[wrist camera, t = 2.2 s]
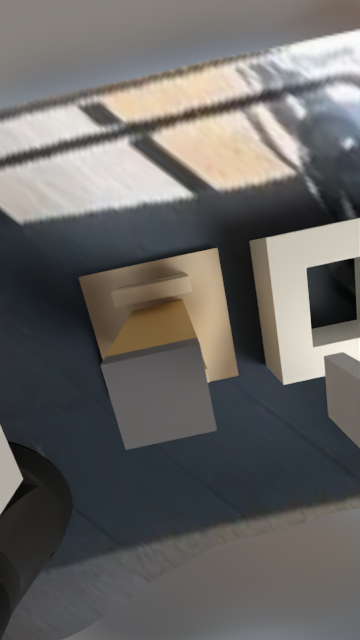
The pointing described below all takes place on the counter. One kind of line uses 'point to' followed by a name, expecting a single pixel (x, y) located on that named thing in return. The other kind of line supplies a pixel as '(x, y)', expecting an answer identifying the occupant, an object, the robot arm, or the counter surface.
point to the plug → (158, 377)
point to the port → (302, 298)
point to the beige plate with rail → (165, 287)
